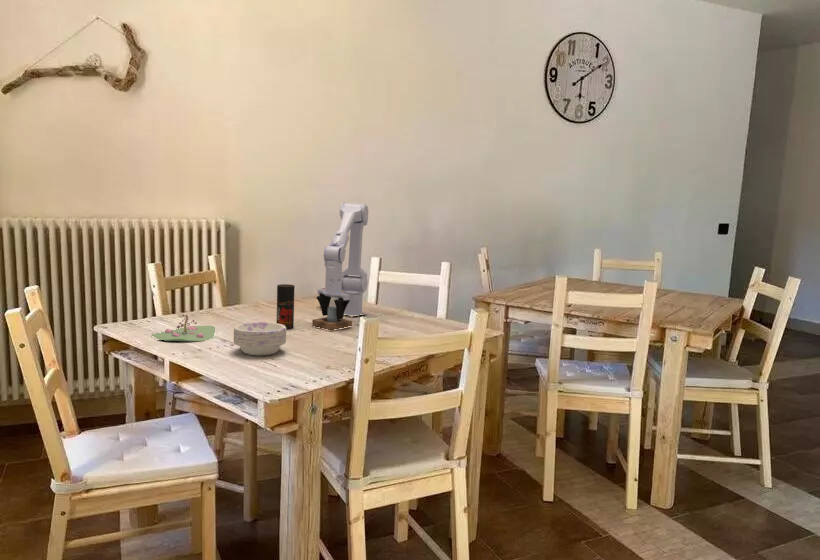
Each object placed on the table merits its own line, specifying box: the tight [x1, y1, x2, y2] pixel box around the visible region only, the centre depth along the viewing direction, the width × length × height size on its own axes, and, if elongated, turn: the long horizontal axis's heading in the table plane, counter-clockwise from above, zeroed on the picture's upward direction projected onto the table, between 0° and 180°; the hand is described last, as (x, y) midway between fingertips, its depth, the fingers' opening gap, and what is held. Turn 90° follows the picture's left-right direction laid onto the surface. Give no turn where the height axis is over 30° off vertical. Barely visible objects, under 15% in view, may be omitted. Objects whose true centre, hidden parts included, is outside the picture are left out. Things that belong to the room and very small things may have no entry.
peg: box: [326, 307, 337, 322], centre depth 226 cm, size 4×4×7 cm
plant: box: [151, 310, 216, 342], centre depth 206 cm, size 25×21×9 cm
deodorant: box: [276, 283, 295, 331], centre depth 221 cm, size 6×6×15 cm
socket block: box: [311, 316, 353, 330], centre depth 227 cm, size 10×10×2 cm
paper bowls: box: [233, 321, 287, 357], centre depth 188 cm, size 15×15×8 cm
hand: (332, 317), depth 226 cm, fingers open, 7 cm apart
